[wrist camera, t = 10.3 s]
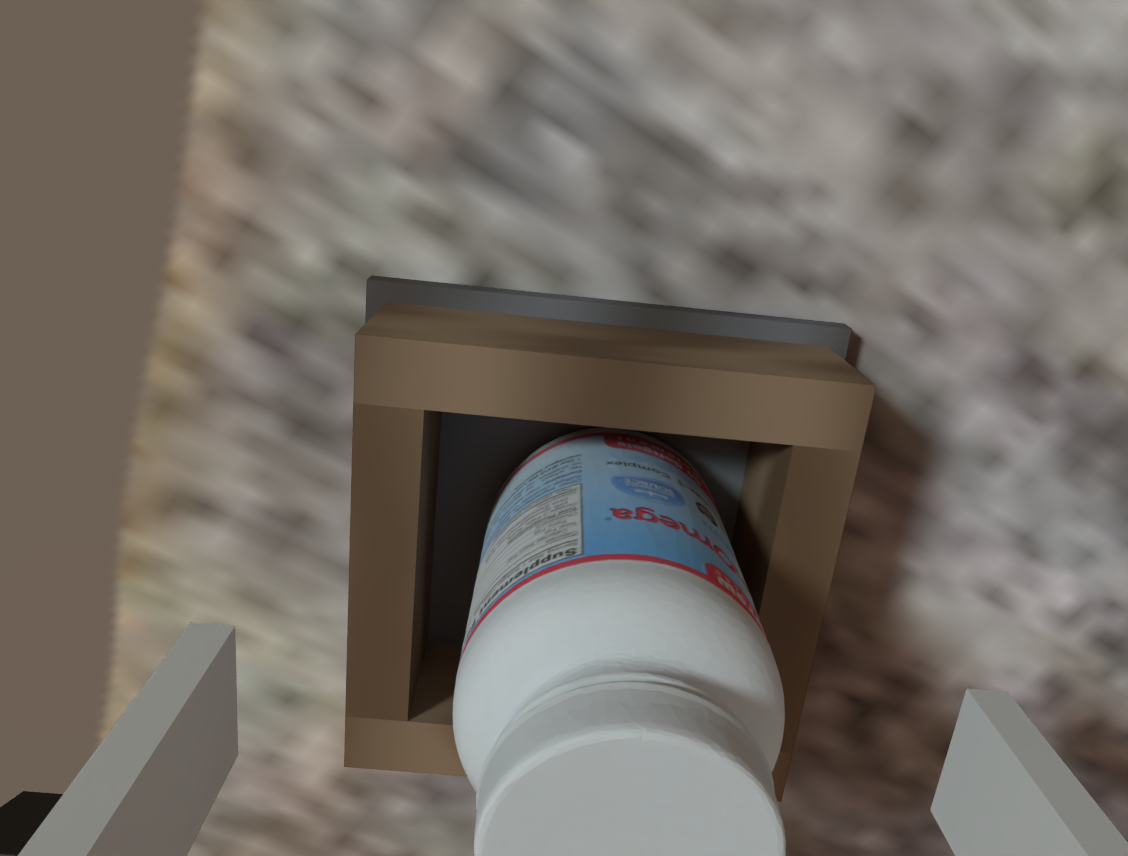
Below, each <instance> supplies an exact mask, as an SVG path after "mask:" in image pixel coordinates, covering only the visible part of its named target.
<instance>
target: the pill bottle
mask: <svg viewBox="0 0 1128 856" xmlns="http://www.w3.org/2000/svg"><path fill="white" fill-rule="evenodd" d="M784 723H785V707H784V694H783V688H782V682H781V679H780V675H779V671H778V668H777V665H776V662H775V658H774V656H773V653H772V650H771V647H770V645H769V643H768V640H767V637H766V635H765V632H764V629H763V627H762V624H761V622H760V619H759V617H758V614H757V611H756V609H755V606H754V603H753V600H752V597H751V595H750V593H749V590H748V588H747V585H746V583H745V580H744V578H743V575H742V573H741V570H740V568H739V565H738V562H737V560H736V557H735V554H734V551H733V549H732V546H731V544H730V541H729V538H728V536H727V533H726V531H725V528H724V526H723V523H722V520H721V518H720V515H719V513H718V510H717V507H716V504H715V502H714V500H713V498H712V496H711V493H710V491H709V489H708V487H707V485H706V484H705V482H704V481H703V479H702V477H701V476H700V475H699V473H698V472H697V471H696V469H695V468H694V467H693V466H692V465H691V464H690V462H689V461H688V460H687V459H685V458H684V457H683V456H682V455H681V454H680V453H678V452H677V451H676V450H674V449H673V448H671V447H670V446H668V445H667V444H665V443H663V442H661V441H660V440H658V439H655V438H653V437H651V436H648V435H646V434H643V433H639V432H635V431H632V430H627V429H618V428H605V427H603V428H590V429H584V430H579V431H575V432H572V433H568V434H566V435H563V436H561V437H558V438H556V439H554V440H552V441H550V442H549V443H547V444H545V445H543V446H542V447H540V448H539V449H537V450H536V451H535V452H533V453H532V454H530V455H529V456H528V457H527V458H526V459H525V460H524V461H522V462H521V464H520V465H519V466H518V467H517V468H516V469H515V470H514V471H513V472H512V473H511V474H510V476H509V477H508V478H507V480H506V481H505V482H504V484H503V486H502V487H501V489H500V490H499V492H498V494H497V496H496V499H495V501H494V503H493V506H492V509H491V512H490V516H489V519H488V523H487V527H486V533H485V538H484V543H483V549H482V553H481V559H480V564H479V569H478V573H477V578H476V583H475V587H474V593H473V598H472V603H471V608H470V613H469V618H468V622H467V628H466V633H465V638H464V642H463V646H462V652H461V657H460V661H459V666H458V671H457V676H456V683H455V690H454V698H453V730H454V737H455V743H456V747H457V751H458V755H459V758H460V761H461V763H462V766H463V769H464V771H465V773H466V775H467V777H468V779H469V782H470V784H471V785H472V787H473V789H474V790H475V792H476V793H477V796H476V809H477V816H476V825H475V836H474V856H786V836H785V829H784V825H783V821H782V817H781V813H780V809H779V805H778V802H777V799H776V796H775V791H774V782H773V778H772V774H771V773H772V771H773V768H774V766H775V764H776V761H777V758H778V755H779V752H780V748H781V744H782V739H783V732H784Z"/></svg>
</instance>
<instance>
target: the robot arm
mask: <svg viewBox="0 0 1128 856" xmlns="http://www.w3.org/2000/svg"><path fill="white" fill-rule="evenodd" d="M237 756H238V730H237V687H236V643H235V626H230V625H218V624H207V623H195V622H191V623H190V624H189V625H188V627H187V628H186V629H185V631H184V632H183V633H182V635H181V636H180V638H179V639H178V640H177V642H176V643H175V644H174V646H173V647H172V648H171V650H170V651H169V652H168V654H167V655H166V656H165V658H164V659H163V660H162V662H161V663H160V664H159V666H158V667H157V669H156V670H155V671H154V673H153V674H152V675H151V677H150V678H149V679H148V681H147V682H146V683H145V685H144V686H143V687H142V689H141V690H140V691H139V693H138V694H137V696H136V697H135V698H134V700H133V701H132V702H131V704H130V705H129V706H128V708H127V709H126V710H125V712H124V713H123V714H122V716H121V717H120V718H119V720H118V721H117V722H116V724H115V725H114V727H113V728H112V729H111V731H110V732H109V733H108V735H107V736H106V737H105V739H104V740H103V741H102V743H101V744H100V745H99V747H98V748H97V749H96V751H95V752H94V753H93V755H92V756H91V758H90V759H89V760H88V762H87V763H86V764H85V766H84V767H83V768H82V770H81V771H80V772H79V774H78V775H77V776H76V778H75V779H74V781H73V782H72V783H71V785H70V786H69V787H68V789H67V790H66V791H65V793H64V794H51V793H39V792H26V791H23V792H22V793H21V794H19V795H17V796H16V797H15V798H13V799H12V800H10V801H9V802H7V803H6V804H5V805H3V806H2V807H0V856H187V854H188V852H189V850H190V848H191V846H192V844H193V842H194V840H195V838H196V836H197V834H198V832H199V830H200V828H201V826H202V824H203V822H204V821H205V819H206V817H207V815H208V813H209V811H210V809H211V807H212V805H213V803H214V801H215V799H216V797H217V795H218V793H219V791H220V789H221V787H222V785H223V783H224V781H225V779H226V777H227V775H228V773H229V772H230V770H231V768H232V766H233V764H234V762H235V760H236V758H237ZM930 810H931V812H932V814H933V816H934V818H935V820H936V821H937V823H938V825H939V827H940V829H941V831H942V832H943V834H944V836H945V838H946V840H947V842H948V843H949V845H950V847H951V849H952V851H953V853H954V854H955V856H1128V843H1127V841H1126V840H1125V839H1124V837H1123V836H1122V835H1121V834H1120V832H1119V831H1118V830H1117V829H1116V827H1115V826H1114V825H1113V824H1112V822H1111V821H1110V820H1109V819H1108V817H1107V816H1106V815H1105V814H1104V812H1103V811H1102V810H1101V809H1100V807H1099V806H1098V805H1097V803H1096V802H1095V801H1094V800H1093V798H1092V797H1091V796H1090V795H1089V793H1088V792H1087V791H1086V790H1085V788H1084V787H1083V786H1082V785H1081V783H1080V782H1079V781H1078V780H1077V778H1076V777H1075V776H1074V775H1073V773H1072V772H1071V771H1070V769H1069V768H1068V767H1067V766H1066V764H1065V763H1064V762H1063V761H1062V759H1061V758H1060V757H1059V756H1058V754H1057V753H1056V752H1055V751H1054V749H1053V748H1052V747H1051V746H1050V744H1049V743H1048V742H1047V741H1046V739H1045V738H1044V737H1043V736H1042V734H1041V733H1040V732H1039V730H1038V729H1037V728H1036V727H1035V725H1034V724H1033V723H1032V722H1031V720H1030V719H1029V718H1028V717H1027V715H1026V714H1025V713H1024V712H1023V710H1022V709H1021V708H1020V707H1019V705H1018V704H1017V703H1016V702H1015V700H1014V699H1013V698H1012V696H1011V695H1010V694H1009V693H1008V692H1003V691H991V690H979V689H968V688H967V689H966V692H965V696H964V699H963V702H962V706H961V709H960V712H959V716H958V719H957V722H956V726H955V729H954V732H953V736H952V739H951V742H950V746H949V749H948V752H947V756H946V759H945V762H944V766H943V769H942V772H941V776H940V779H939V782H938V786H937V789H936V792H935V796H934V799H933V802H932V806H931V809H930Z"/></svg>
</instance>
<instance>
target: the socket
mask: <svg viewBox="0 0 1128 856" xmlns="http://www.w3.org/2000/svg"><path fill="white" fill-rule="evenodd" d="M851 331H852V329H851V328H850V327H848V326H847V325H846V324H842V323H833V322H823V321H813V320H803V319H793V318H783V317H773V316H764V315H754V314H744V313H734V312H724V311H714V310H705V309H695V308H685V307H675V306H665V305H655V304H645V303H636V302H626V301H616V300H606V299H596V298H586V297H577V296H567V295H557V294H547V293H537V292H527V291H518V290H508V289H498V288H488V287H478V286H468V285H458V284H449V283H439V282H429V281H419V280H409V279H399V278H390V277H380V276H371V277H370V278H368V279H367V289H366V324H365V325H364V326H363V327H362V328H361V329H360V330H359V331H358V332H357V333H356V334H355V360H354V399H353V439H352V478H351V517H350V557H349V596H348V635H347V674H346V714H345V753H344V767H352V768H365V769H377V770H390V771H403V772H415V773H428V774H440V775H453V776H465V777H467V775H466V773H465V771H464V769H463V766H462V763H461V761H460V758H459V755H458V751H457V747H456V743H455V737H454V730H453V698H454V690H455V683H456V676H457V671H458V666H459V661H460V657H461V652H462V646H463V642H464V638H465V633H466V628H467V622H468V618H469V613H470V608H471V603H472V598H473V593H474V587H475V583H476V578H477V573H478V569H479V564H480V559H481V553H482V549H483V543H484V538H485V533H486V527H487V523H488V519H489V516H490V512H491V509H492V506H493V503H494V501H495V499H496V496H497V494H498V492H499V490H500V489H501V487H502V486H503V484H504V482H505V481H506V480H507V478H508V477H509V476H510V474H511V473H512V472H513V471H514V470H515V469H516V468H517V467H518V466H519V465H520V464H521V462H522V461H524V460H525V459H526V458H527V457H528V456H529V455H530V454H532V453H533V452H535V451H536V450H537V449H539V448H540V447H542V446H543V445H545V444H547V443H549V442H550V441H552V440H554V439H556V438H558V437H561V436H563V435H566V434H568V433H572V432H575V431H579V430H584V429H590V428H603V427H605V428H618V429H627V430H632V431H635V432H639V433H643V434H646V435H648V436H651V437H653V438H655V439H658V440H660V441H661V442H663V443H665V444H667V445H668V446H670V447H671V448H673V449H674V450H676V451H677V452H678V453H680V454H681V455H682V456H683V457H684V458H685V459H687V460H688V461H689V462H690V464H691V465H692V466H693V467H694V468H695V469H696V471H697V472H698V473H699V475H700V476H701V477H702V479H703V481H704V482H705V484H706V485H707V487H708V489H709V491H710V493H711V496H712V498H713V500H714V502H715V504H716V507H717V510H718V513H719V515H720V518H721V520H722V523H723V526H724V528H725V531H726V533H727V536H728V538H729V541H730V544H731V546H732V549H733V551H734V554H735V557H736V560H737V562H738V565H739V568H740V570H741V573H742V575H743V578H744V580H745V583H746V585H747V588H748V590H749V593H750V595H751V597H752V600H753V603H754V606H755V609H756V611H757V614H758V617H759V619H760V622H761V624H762V627H763V629H764V632H765V635H766V637H767V640H768V643H769V645H770V647H771V650H772V653H773V656H774V658H775V662H776V665H777V668H778V671H779V675H780V679H781V682H782V688H783V694H784V707H785V723H784V732H783V739H782V744H781V748H780V752H779V755H778V758H777V761H776V764H775V766H774V768H773V771H772V773H771V774H772V778H773V782H774V791H775V796H776V799H777V801H780V802H781V800H782V795H783V791H784V787H785V782H786V778H787V773H788V769H789V765H790V760H791V756H792V752H793V747H794V743H795V739H796V734H797V730H798V725H799V721H800V717H801V712H802V708H803V704H804V699H805V695H806V691H807V686H808V682H809V677H810V673H811V669H812V664H813V660H814V656H815V651H816V647H817V643H818V638H819V634H820V629H821V625H822V621H823V616H824V612H825V608H826V603H827V599H828V595H829V590H830V586H831V581H832V577H833V573H834V568H835V564H836V560H837V555H838V551H839V547H840V542H841V538H842V533H843V529H844V525H845V520H846V516H847V512H848V507H849V503H850V498H851V494H852V490H853V485H854V481H855V477H856V472H857V468H858V464H859V459H860V455H861V450H862V446H863V442H864V437H865V433H866V429H867V424H868V420H869V416H870V411H871V407H872V402H873V398H874V394H875V389H876V385H875V384H873V383H872V382H871V381H870V380H869V379H867V378H866V377H865V376H864V375H862V374H861V373H860V372H859V371H858V370H856V369H855V368H854V367H853V366H851V365H850V364H849V363H848V362H846V361H845V359H846V354H847V349H848V345H849V340H850V335H851Z"/></svg>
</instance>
